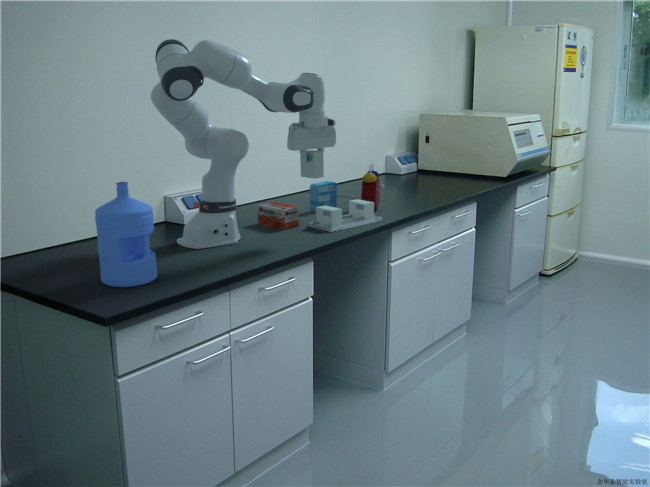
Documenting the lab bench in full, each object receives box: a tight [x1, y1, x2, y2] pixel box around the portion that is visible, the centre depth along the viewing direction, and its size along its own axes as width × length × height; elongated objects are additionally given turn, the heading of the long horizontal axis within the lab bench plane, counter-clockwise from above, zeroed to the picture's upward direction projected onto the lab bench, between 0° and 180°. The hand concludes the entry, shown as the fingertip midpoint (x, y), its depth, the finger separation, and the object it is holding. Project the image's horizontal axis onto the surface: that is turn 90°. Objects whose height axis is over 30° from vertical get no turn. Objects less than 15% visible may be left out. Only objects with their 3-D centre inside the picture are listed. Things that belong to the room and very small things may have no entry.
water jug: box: [94, 181, 158, 288], centre depth 185 cm, size 16×16×28 cm
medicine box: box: [257, 201, 300, 231], centre depth 254 cm, size 15×8×8 cm, turn 47°
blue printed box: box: [309, 180, 338, 213], centre depth 280 cm, size 12×4×12 cm, turn 136°
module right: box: [348, 198, 375, 219], centre depth 262 cm, size 5×9×6 cm, turn 44°
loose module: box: [299, 149, 325, 180], centre depth 231 cm, size 5×7×9 cm, turn 44°
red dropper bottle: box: [360, 163, 385, 211], centre depth 280 cm, size 15×9×20 cm, turn 168°
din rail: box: [307, 213, 383, 233], centre depth 257 cm, size 28×13×2 cm, turn 134°
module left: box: [315, 205, 343, 227], centre depth 250 cm, size 5×9×6 cm, turn 44°
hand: (312, 161), depth 231 cm, fingers closed on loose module, 5 cm apart
